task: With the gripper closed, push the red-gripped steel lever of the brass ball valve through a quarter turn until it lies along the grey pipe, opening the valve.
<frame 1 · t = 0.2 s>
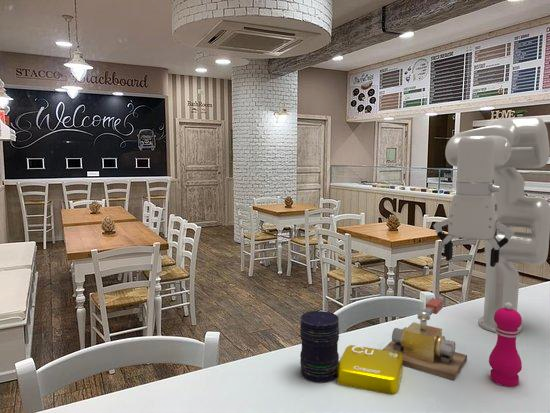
hand: (470, 262, 101), 31 cm above the table, tool pointing down, fingers open, 9 cm apart
ball valve: (423, 336, 117), on the valve board, point 6 cm above the table
black ridged cylinder: (319, 374, 111), on the table
pepper mill: (504, 380, 107), on the table
valve board: (422, 359, 118), on the table
element tile: (370, 377, 110), on the table
valve lever: (429, 310, 121), point 12 cm above the table, hinge at 0.0°
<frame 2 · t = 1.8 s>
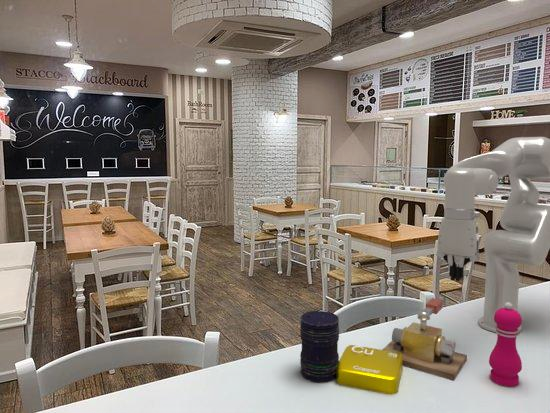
hand: (456, 279, 120), 21 cm above the table, tool pointing down, fingers closed
nothing on the table moved.
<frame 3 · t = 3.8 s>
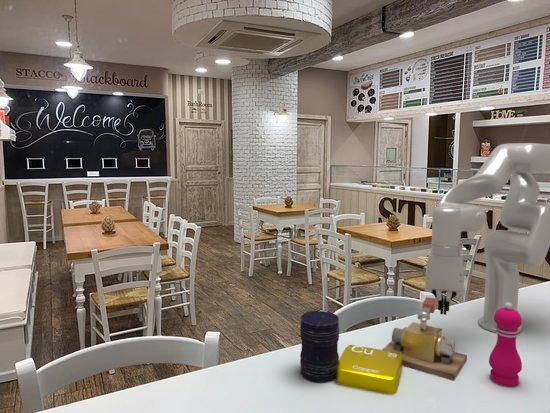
hand: (443, 312, 124), 11 cm above the table, tool pointing down, fingers closed
valve lever: (427, 309, 121), point 12 cm above the table, hinge at 7.8°, touching gripper
everything else where it was.
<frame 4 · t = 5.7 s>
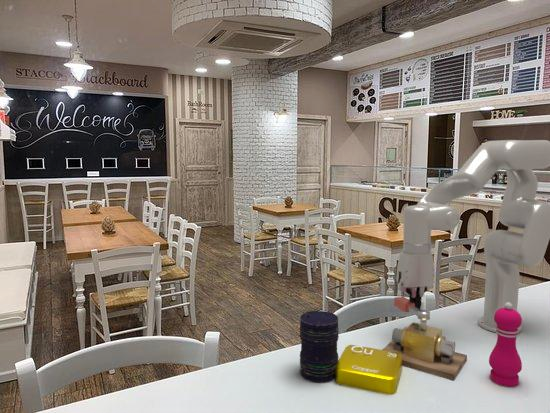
hand: (415, 308, 127), 11 cm above the table, tool pointing down, fingers closed
valve lever: (412, 309, 122), point 12 cm above the table, hinge at 52.4°, touching gripper
everything else where it was.
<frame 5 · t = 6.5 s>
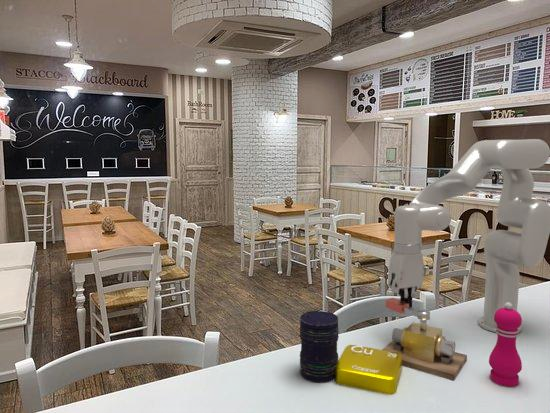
hand: (406, 309, 127), 11 cm above the table, tool pointing down, fingers closed
valve lever: (408, 309, 121), point 12 cm above the table, hinge at 67.8°, touching gripper
everything else where it was.
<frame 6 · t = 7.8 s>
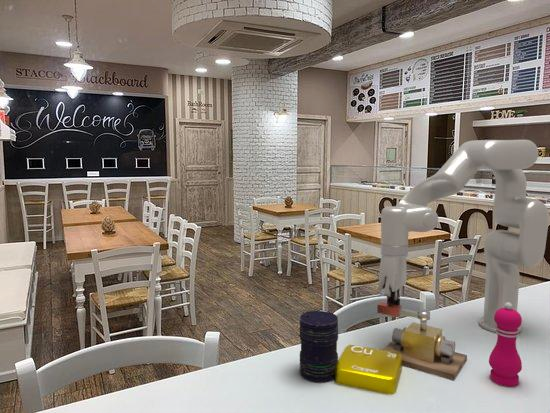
hand: (393, 311, 125), 11 cm above the table, tool pointing down, fingers closed
valve lever: (403, 311, 120), point 12 cm above the table, hinge at 92.8°, touching gripper
everything else where it was.
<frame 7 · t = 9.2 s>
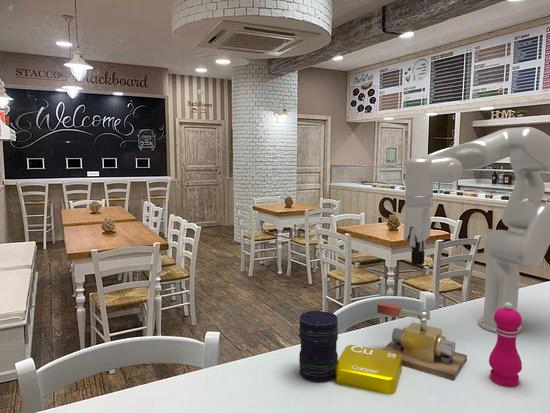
hand: (417, 263, 126), 24 cm above the table, tool pointing down, fingers closed
valve lever: (403, 312, 120), point 12 cm above the table, hinge at 93.0°
everything else where it was.
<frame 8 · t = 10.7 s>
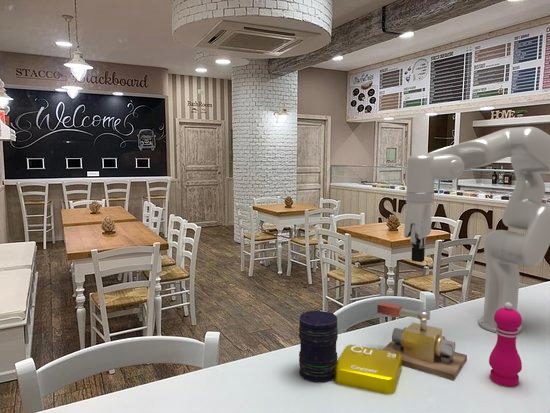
hand: (417, 260, 125), 25 cm above the table, tool pointing down, fingers closed
nothing on the table moved.
at the end: valve lever at +93° (first picture: +0°); pepper mill moved 0.2 cm from its start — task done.
